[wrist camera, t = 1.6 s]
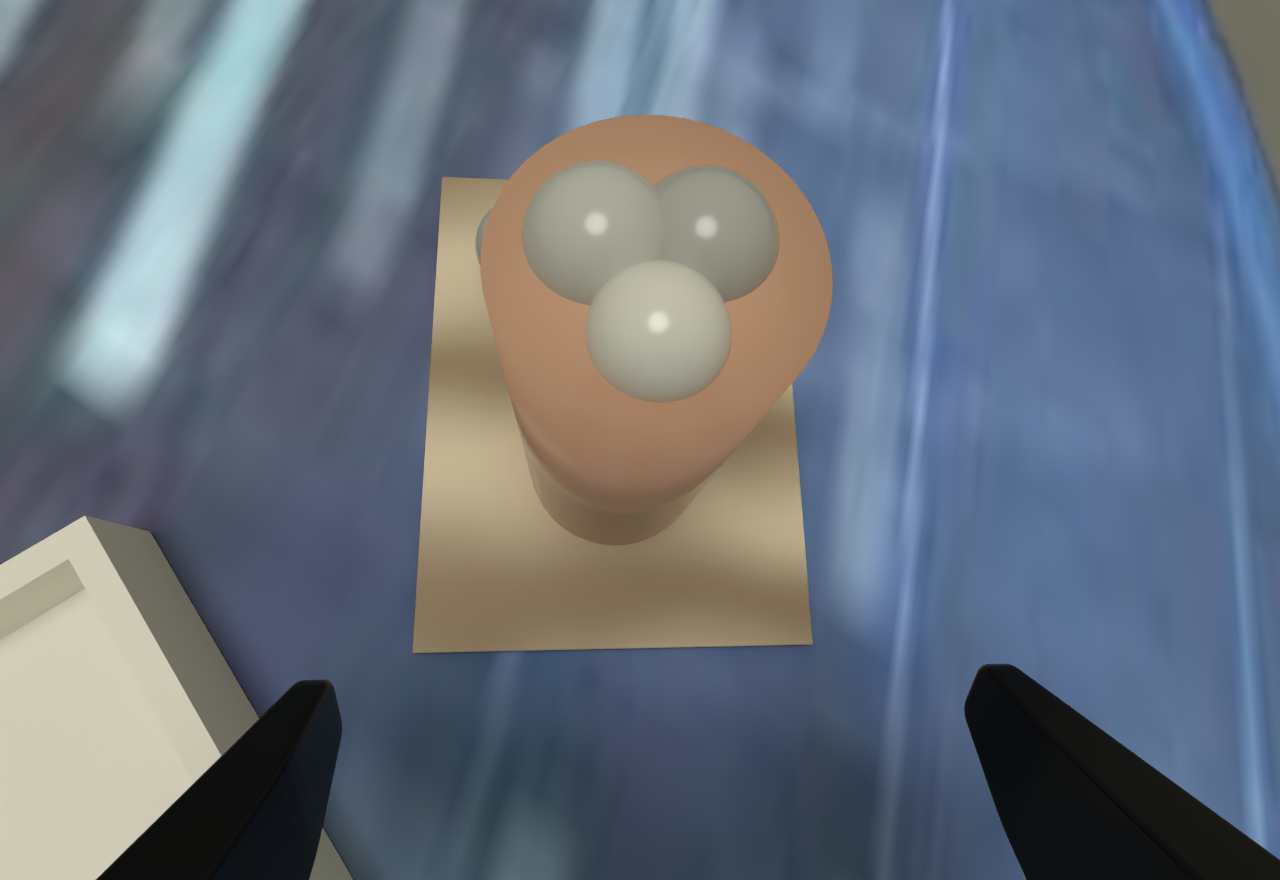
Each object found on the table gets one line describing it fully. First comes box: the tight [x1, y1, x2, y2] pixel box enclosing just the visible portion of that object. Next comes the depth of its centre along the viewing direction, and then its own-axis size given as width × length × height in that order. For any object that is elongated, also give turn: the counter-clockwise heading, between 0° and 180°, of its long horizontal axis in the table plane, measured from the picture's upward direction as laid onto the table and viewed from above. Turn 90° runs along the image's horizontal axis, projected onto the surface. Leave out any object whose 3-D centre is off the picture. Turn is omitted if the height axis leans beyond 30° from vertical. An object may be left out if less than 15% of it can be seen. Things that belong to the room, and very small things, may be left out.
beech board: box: [413, 177, 813, 653], centre depth 24 cm, size 16×12×1 cm
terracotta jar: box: [480, 115, 833, 545], centre depth 16 cm, size 5×5×14 cm
